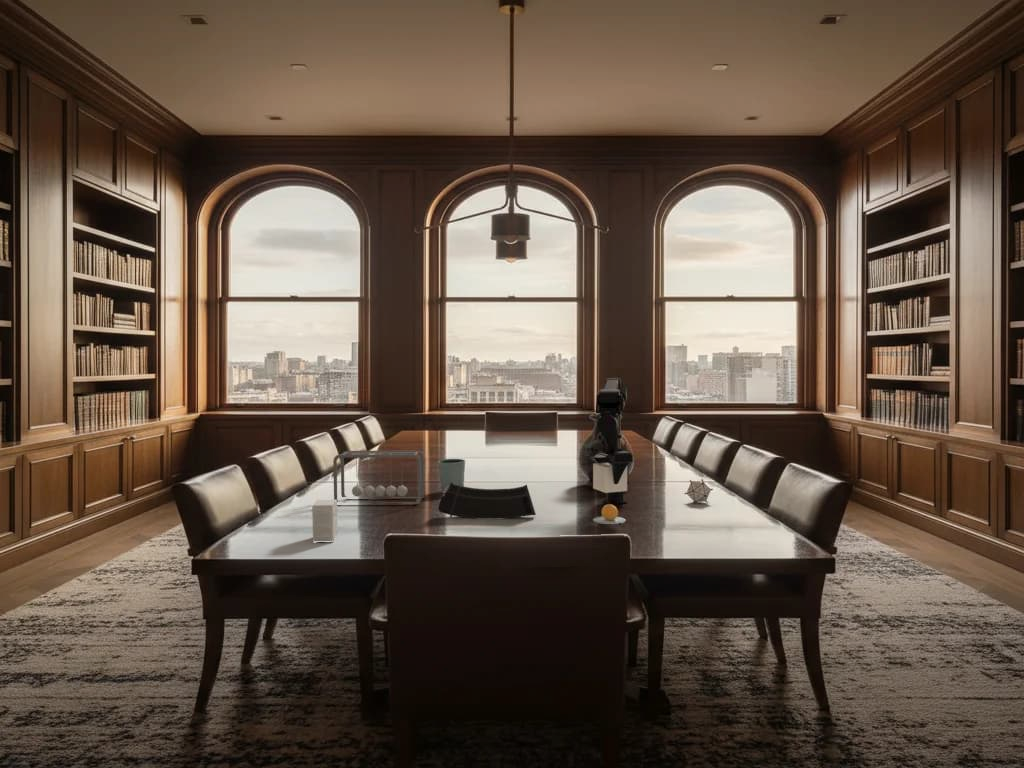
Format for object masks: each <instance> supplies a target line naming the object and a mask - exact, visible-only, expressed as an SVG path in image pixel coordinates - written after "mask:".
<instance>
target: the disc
mask: <svg viewBox="0 0 1024 768" xmlns="http://www.w3.org/2000/svg"><path fill="white" fill-rule="evenodd" d="M592 520H593V522H594V523H597V524H602V525H619V523H621V524H624V523H626V522H625V521H627V520H626V519H625V518H624V517H622V516H621V517H620V516H617V517H616V519H614V520H612V521H608V520H606V519H604V518H603V516H602V515H601V516H596V517H594V518H593V519H592Z"/></svg>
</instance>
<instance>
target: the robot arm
mask: <svg viewBox="0 0 1024 768" xmlns="http://www.w3.org/2000/svg"><path fill="white" fill-rule="evenodd" d="M604 382H605V383H604V384H602V385H601V389H599V391H598V394H596V398H595V399H596V401H595V402H596V403H595V414H601V416H600V419H599V421H598V423H597V427H598V430H599V431H600V434H597V439H596V440H594V441H591V442H589V443H587V444H585V445H583V446H582V445H581V446H582V447H583V450H584V453H585V456H589V457H590V458H591V459H593V460H594V461H595V462H596V463H609V464H610V465H611V466H612V470H613V480H614V484H618V482H619V480H620V478H621V476H622V474H623V472H624V470H625V468H626V467H627V465H628V464H629V463H630V462H633V456H634V454H633V455H632V454H631V452H627V451H622V448H620V438H622V435H623V434H622V435H620V432H621V419H620V415H622V412H624V408H625V406H626V402H627V401H628V400H627V399H628V394H627V393H628V391H627V386H626V385H625V384H624V383H623V382H622V381H621V378H619V377H607V378H605V380H604ZM627 486H630V474H629V472H628V471H627ZM624 492H625V491H621V492H609V493H605V494H606V495H605V496H606V498H605V499H602V502H605V503H607V504H611V505H617V504H618V505H619V504H628V500H624V498H625V497H624V495H625V494H624Z"/></svg>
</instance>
